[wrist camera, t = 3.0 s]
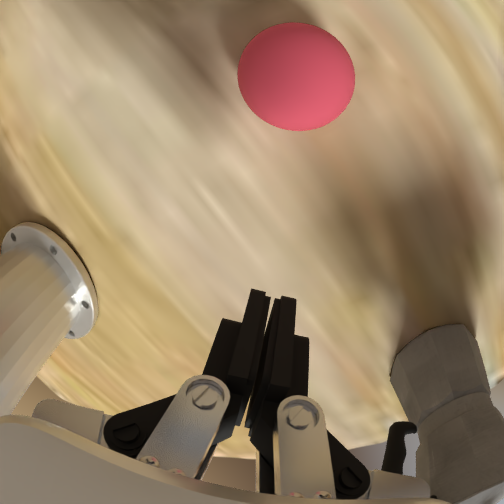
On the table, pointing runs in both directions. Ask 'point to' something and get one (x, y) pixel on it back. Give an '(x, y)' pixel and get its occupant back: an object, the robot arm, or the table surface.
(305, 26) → the ball
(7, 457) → the robot arm
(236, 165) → the table surface
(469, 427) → the coffeepot
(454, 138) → the table surface
